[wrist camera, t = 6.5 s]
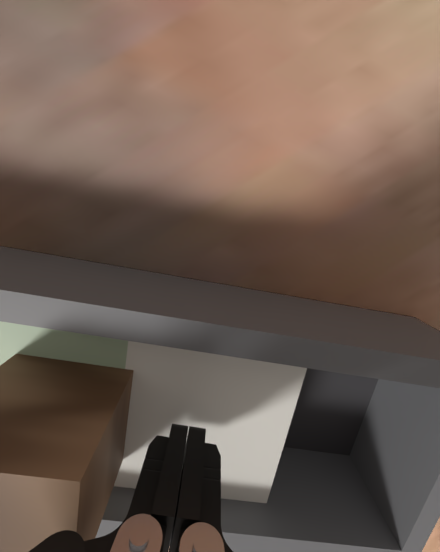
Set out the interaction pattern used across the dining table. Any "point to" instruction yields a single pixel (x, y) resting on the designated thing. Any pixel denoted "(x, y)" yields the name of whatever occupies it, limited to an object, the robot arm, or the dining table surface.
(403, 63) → the dining table surface
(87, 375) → the walnut block
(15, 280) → the box
